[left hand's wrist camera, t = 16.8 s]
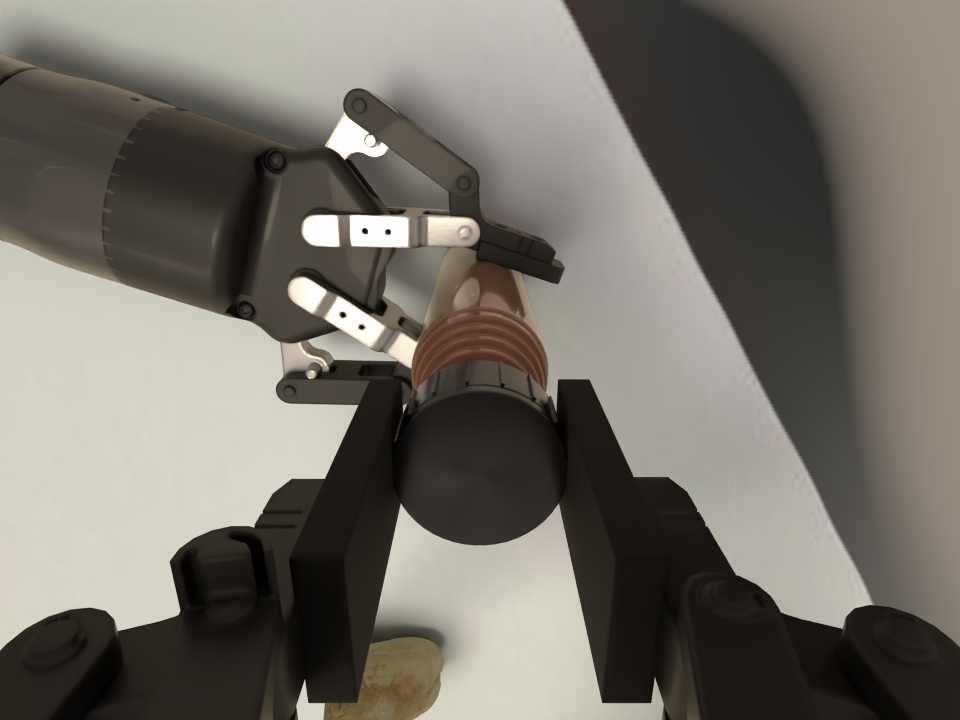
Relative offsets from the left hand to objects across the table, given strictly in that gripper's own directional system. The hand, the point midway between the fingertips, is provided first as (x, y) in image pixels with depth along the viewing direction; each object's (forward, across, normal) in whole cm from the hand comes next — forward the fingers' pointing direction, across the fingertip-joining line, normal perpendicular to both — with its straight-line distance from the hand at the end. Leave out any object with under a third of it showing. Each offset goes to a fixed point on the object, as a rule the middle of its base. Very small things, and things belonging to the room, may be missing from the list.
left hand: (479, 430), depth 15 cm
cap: (-2, 0, 0) cm, 2 cm away
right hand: (+12, -3, +1) cm, 12 cm away
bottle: (+18, 0, 0) cm, 18 cm away
